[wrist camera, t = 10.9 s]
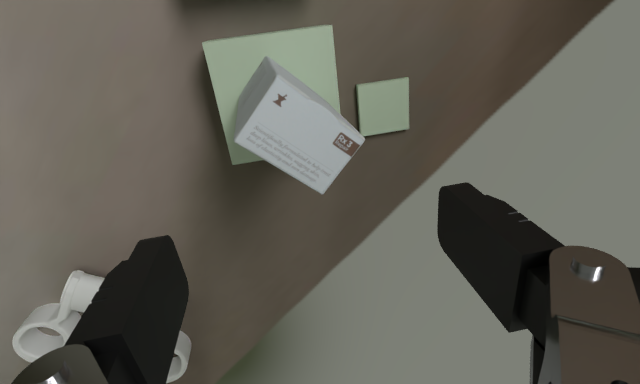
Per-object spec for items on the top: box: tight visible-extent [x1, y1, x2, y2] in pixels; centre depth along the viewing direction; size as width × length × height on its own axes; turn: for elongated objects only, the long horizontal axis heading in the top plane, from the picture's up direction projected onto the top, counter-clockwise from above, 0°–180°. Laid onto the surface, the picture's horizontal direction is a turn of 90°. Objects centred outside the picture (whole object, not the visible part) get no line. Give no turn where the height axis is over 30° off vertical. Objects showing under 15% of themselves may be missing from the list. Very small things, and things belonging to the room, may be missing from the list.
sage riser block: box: [202, 25, 340, 165], centre depth 31 cm, size 10×10×4 cm
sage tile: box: [356, 77, 409, 136], centre depth 35 cm, size 5×5×1 cm
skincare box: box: [234, 56, 365, 194], centre depth 24 cm, size 6×4×12 cm
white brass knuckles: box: [12, 270, 191, 383], centre depth 40 cm, size 3×18×15 cm
